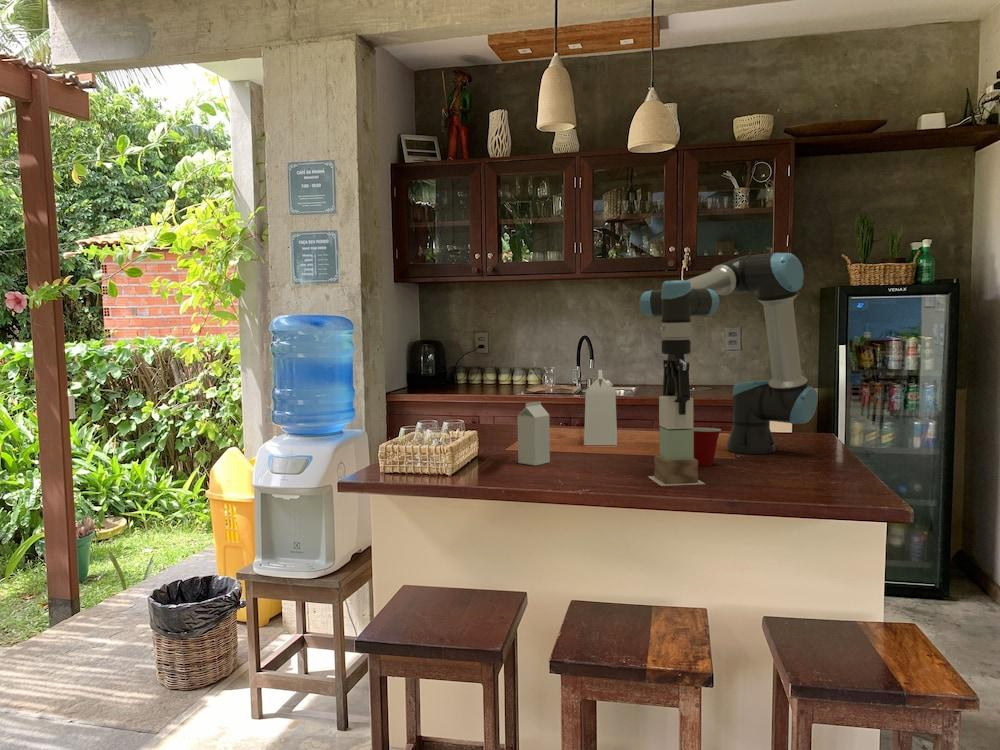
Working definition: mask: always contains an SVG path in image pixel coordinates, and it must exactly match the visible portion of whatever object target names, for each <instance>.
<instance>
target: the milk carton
mask: <svg viewBox="0 0 1000 750" xmlns="http://www.w3.org/2000/svg"><path fill="white" fill-rule="evenodd" d="M550 438H551V437H550V414H549V413H548V411H547V410H546V409H545V408H544V407H543V405H542V401H534V402H533V401H532V402H526V403H525V407H524V408H523V409H522V410H521V411H520V412H519V413H518V414H517V463H518V464H523V465H529V466H541V465H544V464H548V463H550V462H551V447H550V446H551V443H550V441H551V440H550Z"/></svg>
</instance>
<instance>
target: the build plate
mask: <svg viewBox="0 0 1000 750" xmlns="http://www.w3.org/2000/svg"><path fill="white" fill-rule="evenodd" d="M647 478H649V479H650V480H652V481H653V482H655V483H656V484H657V485H659V486H661V487H667V486H668V487H669V486H671V487H673V486H688V485H690V486H691V485H706V483H705V482H703V481H701V480H700V479H698V483H684V484H664V483H662V482H661V481H659V480H658V479H656V478H655V477H654V475H650V476H647Z"/></svg>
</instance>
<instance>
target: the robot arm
mask: <svg viewBox="0 0 1000 750" xmlns="http://www.w3.org/2000/svg"><path fill="white" fill-rule="evenodd" d="M803 269H804V268H803V265H802V263H801V261H800V260H799V258H798V257H797V256H796V255H795V254H793V253H790V252H771V253H761V254H749V255H743V256H740V257H736V258H734V259H731V260H728V261H726V262H723V263H721V264H718V265H714V267H713V268H711V270H710V271H708V272H706V273H702V274H700V275H697V276H694V277H691V278H689V279H686V280H685V279H683V280H681V279H680V280H666V281H665V280H664V281H663V282H662V285H661V289H657V290H654V289H651V290H647V291H644V292H643V293H642V294H641V295H640V297H639V303H638V304H639V309H640V312H641V314H642V315H644V316H645V317H653V318H657V317H658V318H659V317H660V318H661V326H660V327H659V330H661V338H663V340H662V341H661V353H662V354H663V355H667V359H664V360H663V361H662V362H663V376H662V377H663V381H662V383H663V384H662V386H663V387H662V396H677V400H675V401H674V402H675V427H686V402H687V400H690V397H691V392H690V362H689V361H686V359H685V355H689V354H690V353H691V351H692V350H691V349H692V348H691V340H690V338H691V336H692V332H691V331H692V322H691V317H708V316H713V315H714V314H715V313H716V312H717V311H718V309H719V307H720V298H719V296H727V295H730V294H741V293H744V294H745V293H747V294H749V293H751V294H752V293H753V294H754V293H755V294H756V298H757V302H759V303H761V304H762V305H763V312H764V313H763V314H764V320H765V327H766V336H767V343H768V351H769V352H768V353H769V361H770V367H771V376H772V377H771V379H770V380H769V379H768V380H767V379H764V380H753V381H743V382H736V383H735V384H734V386H733V388H732V389H733V390H732V395H731V396H732V429H731V432H730V434H729V436H728V439H727V444H726V450H727V449H728V450H727V451H729V450H730V451H729V452H731V453H737V454H745V455H749V454H750V455H762V454H763V455H764V454H765V455H766V454H772V453H774V452H776V443H775V439H774V437H773V434H772V431H771V428H770V427H771V425H770V422H778V423H787V424H792V425H796V424H801V425H803V424H807V423H808V422H810V420H811V419H812V418H813V417H814V415H815V413H816V410H817V406H818V393H817V391H816V389H815V388H813V387H812V386H809V383H808V378H807V377H805V376H804V375H802V367H801V360H800V359H801V358H800V350H799V342H798V333H797V325H796V317H795V307H794V300H795V299H796V298H797V296H798V291H799V290H800V289H802V286H803V285H804V279H805V278H804V277H805V276H804V270H803Z"/></svg>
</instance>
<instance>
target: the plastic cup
mask: <svg viewBox="0 0 1000 750" xmlns="http://www.w3.org/2000/svg"><path fill="white" fill-rule="evenodd" d="M690 429H693V430H694V459H696V460H698V467H711V466H714V464H713V463H714V458H715V454H716V450H717V443H718V440H719V437H720V433H721V431H722V429H721V428H717V427H693V428H690Z"/></svg>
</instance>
